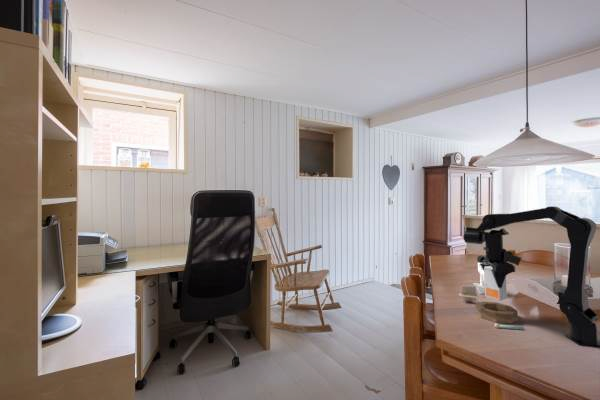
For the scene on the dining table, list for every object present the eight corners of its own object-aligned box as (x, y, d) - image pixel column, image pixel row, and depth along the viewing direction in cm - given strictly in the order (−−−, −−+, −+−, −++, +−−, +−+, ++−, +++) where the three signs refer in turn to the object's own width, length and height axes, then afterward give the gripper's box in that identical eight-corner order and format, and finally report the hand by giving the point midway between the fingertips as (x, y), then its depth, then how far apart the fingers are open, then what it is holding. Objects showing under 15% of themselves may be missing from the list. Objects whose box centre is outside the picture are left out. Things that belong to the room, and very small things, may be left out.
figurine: (478, 295, 136) (477, 264, 136) (472, 289, 145) (471, 260, 145) (495, 296, 134) (494, 264, 134) (488, 290, 143) (487, 261, 143)
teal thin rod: (521, 328, 100) (521, 324, 100) (524, 330, 98) (523, 326, 98) (493, 326, 102) (493, 322, 102) (495, 328, 100) (495, 324, 100)
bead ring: (522, 324, 103) (522, 314, 103) (484, 321, 106) (484, 312, 106) (506, 311, 115) (506, 302, 115) (472, 309, 118) (472, 301, 118)
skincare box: (484, 296, 113) (483, 266, 113) (491, 294, 114) (490, 265, 114) (499, 301, 107) (498, 269, 107) (507, 299, 108) (506, 268, 109)
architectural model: (478, 305, 124) (477, 288, 124) (460, 303, 126) (459, 287, 126) (476, 303, 127) (476, 286, 127) (459, 301, 129) (458, 285, 130)
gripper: (531, 249, 100) (532, 293, 100) (505, 242, 118) (507, 279, 118) (495, 249, 102) (497, 291, 102) (476, 242, 121) (477, 278, 120)
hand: (495, 285), depth 111 cm, fingers closed on skincare box, 7 cm apart
